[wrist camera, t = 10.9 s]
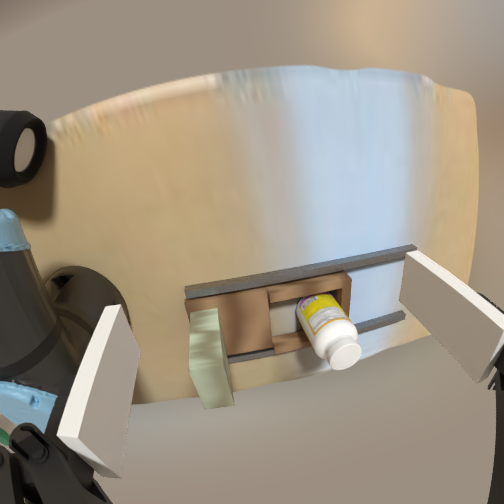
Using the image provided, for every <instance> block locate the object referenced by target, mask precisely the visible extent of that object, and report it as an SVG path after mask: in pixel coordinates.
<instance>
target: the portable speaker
mask: <svg viewBox="0 0 504 504" xmlns="http://www.w3.org/2000/svg"><path fill="white" fill-rule="evenodd" d="M46 143H47V133H46V127H45V125H44V123H43V122H42V120H40V119H39V118H38V117H36V116H34V115H33V114H31V113H30V112H28V111H3V110H0V187H4V188H11V187H15V186H18V185H22V184H25V183H28V182H29V181H31V180H32V179H33V178H34V177H35V175H36V174H37V172H38V170H39V168H40V166H41V164H42V161H43V158H44V155H45V150H46Z"/></svg>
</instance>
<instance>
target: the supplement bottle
mask: <svg viewBox="0 0 504 504" xmlns="http://www.w3.org/2000/svg"><path fill="white" fill-rule="evenodd" d="M296 314H297V317H298V320H299V322H300V324H301V326H302V327H303V329H304V331H305V333H306V335H307V337H308V339H309V341H310V343H311V345H312V347H313V349H314V351H315V353H316V354H317V356H319V357H320V358H322V359H324V360H327V361H328V363H329V365H330V366H331V367H332V368H333V369H335V370H342V369H346V368H348V367H350V366H352V365H353V364H355V363H356V362H357V361H358V359H359V358H360V356H361V353H362V349H361V347H360V345H359V344H358V342H357V338H358V333H357V329H356V327H355V326H354V324H353V323H352V322H351V320H350V319H349V318H348V316H347V315H346V313H345V312H344V311H343V309H342V308H341V307H340V305H339V304H338V303H337V301H336V300H335V299H334V298H333V296H332V295H331V294H330V293H329V292H327V291H326V292H322V293H317V294H312V295H308V296H303V297H302V299H301V300H300V301H299V303H298V305H297V309H296Z"/></svg>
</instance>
